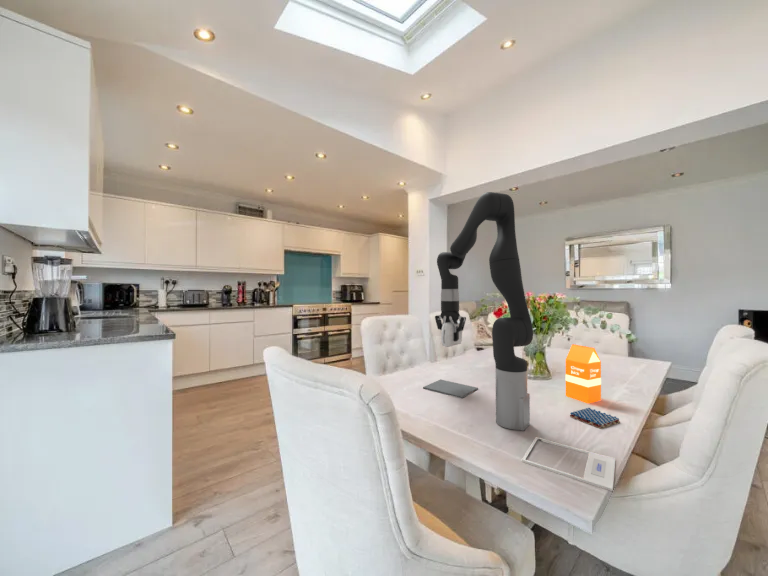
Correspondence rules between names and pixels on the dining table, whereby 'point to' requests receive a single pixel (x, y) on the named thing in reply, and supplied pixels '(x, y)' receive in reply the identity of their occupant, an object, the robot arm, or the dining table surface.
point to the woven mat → (594, 418)
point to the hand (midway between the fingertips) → (450, 340)
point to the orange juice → (583, 374)
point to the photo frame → (596, 468)
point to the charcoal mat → (451, 388)
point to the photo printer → (449, 335)
